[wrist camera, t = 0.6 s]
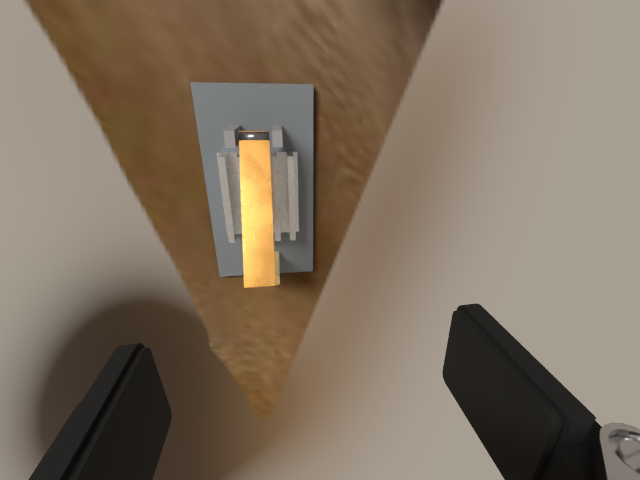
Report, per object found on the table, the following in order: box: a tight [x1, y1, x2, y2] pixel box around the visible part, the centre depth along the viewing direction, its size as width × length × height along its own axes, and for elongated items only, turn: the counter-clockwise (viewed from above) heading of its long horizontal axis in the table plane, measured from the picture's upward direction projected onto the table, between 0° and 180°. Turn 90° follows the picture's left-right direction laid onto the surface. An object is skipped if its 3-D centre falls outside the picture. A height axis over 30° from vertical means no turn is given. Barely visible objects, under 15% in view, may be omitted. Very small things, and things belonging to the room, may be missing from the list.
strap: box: [238, 131, 276, 288], centre depth 31 cm, size 16×3×1 cm, turn 179°
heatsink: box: [217, 150, 299, 243], centre depth 36 cm, size 10×9×4 cm
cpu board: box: [190, 82, 313, 285], centre depth 36 cm, size 24×13×7 cm, turn 179°
